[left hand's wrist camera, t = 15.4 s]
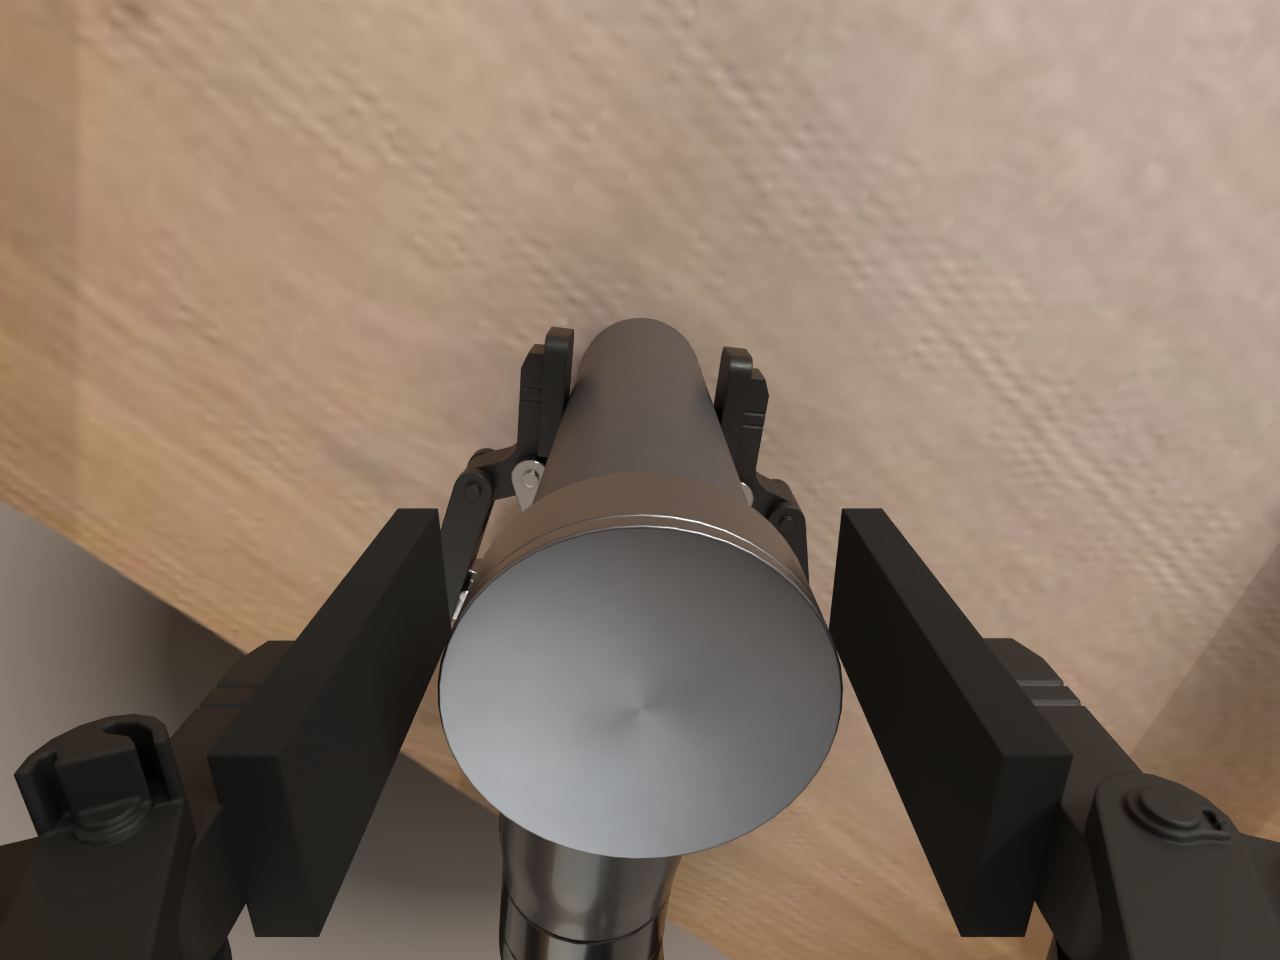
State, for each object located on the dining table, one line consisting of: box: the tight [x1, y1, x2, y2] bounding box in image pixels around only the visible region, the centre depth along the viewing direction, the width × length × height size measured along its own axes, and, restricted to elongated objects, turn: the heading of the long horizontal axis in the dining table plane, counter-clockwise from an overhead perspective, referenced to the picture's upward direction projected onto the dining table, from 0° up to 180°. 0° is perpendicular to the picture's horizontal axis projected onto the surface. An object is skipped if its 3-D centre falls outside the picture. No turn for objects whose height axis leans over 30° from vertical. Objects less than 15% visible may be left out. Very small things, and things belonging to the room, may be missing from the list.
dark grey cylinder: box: [532, 318, 748, 504], centre depth 20 cm, size 5×5×20 cm
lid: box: [438, 472, 843, 859], centre depth 11 cm, size 6×6×2 cm
